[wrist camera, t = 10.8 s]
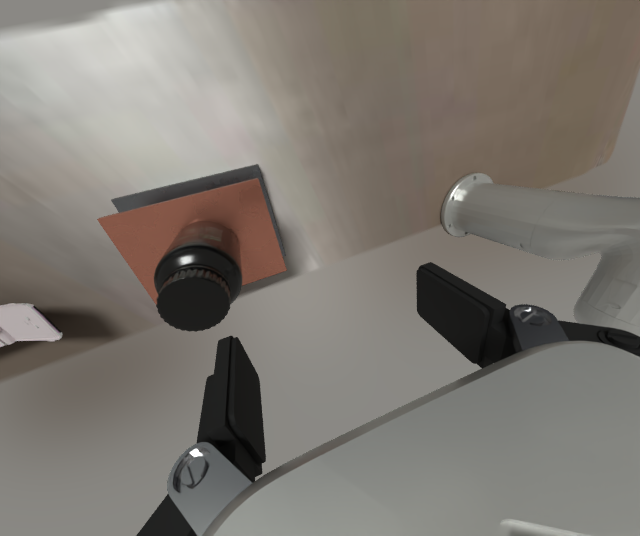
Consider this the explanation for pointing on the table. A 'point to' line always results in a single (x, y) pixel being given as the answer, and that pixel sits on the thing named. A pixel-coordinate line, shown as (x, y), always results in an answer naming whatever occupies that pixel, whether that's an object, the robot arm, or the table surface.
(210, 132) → the table surface
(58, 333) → the mobile phone
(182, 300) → the supplement bottle
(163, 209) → the stand
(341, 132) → the table surface
